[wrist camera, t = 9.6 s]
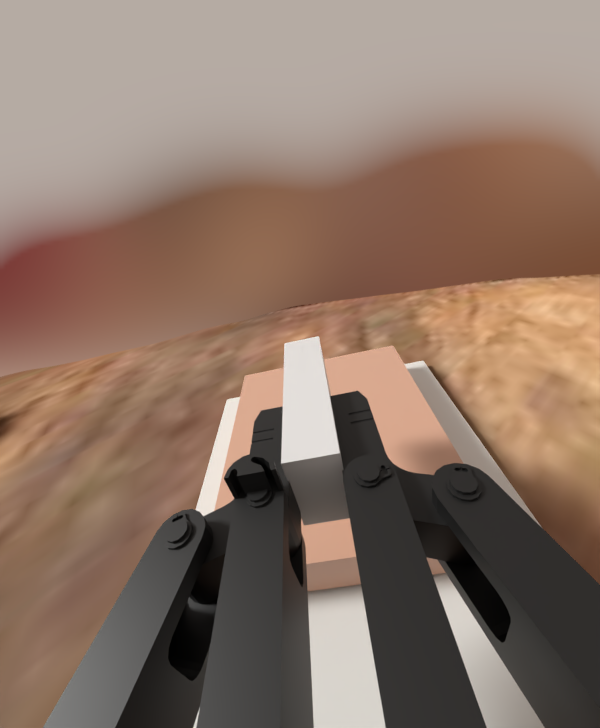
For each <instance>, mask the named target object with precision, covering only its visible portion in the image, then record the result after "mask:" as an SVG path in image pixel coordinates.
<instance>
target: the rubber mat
mask: <svg viewBox="0 0 600 728" xmlns="http://www.w3.org/2000/svg"><path fill="white" fill-rule="evenodd" d="M404 365H405V366H406V368H407V370H408V371H409V373H410V375H411V376H412V378H413V380H414V381H415V383H416V385H417V386H418V388H419V390H420V391H421V393H422V395H423V396H424V398H425V400H426V401H427V403H428V405H429V406H430V408H431V410H432V412H433V413H434V415H435V417H436V418H437V420H438V422H439V423H440V425H441V427H442V428H443V430H444V432H445V433H446V435H447V437H448V438H449V440H450V442H451V443H452V445H453V447H454V448H455V450H456V452H457V453H458V455H459V457H460V458H461V460H462V462H463V463H464V464H468V465H471V466H473V467H476V468H479V469H480V470H482V471H483V472H484V473H486V474H487V475H488V476H490V477H491V478H492V479H493V480H494V481H495V482H496V483H497V484H498V485H499V486H500V487H501V488H502V489H503V490H504V491H505V492H506V493H507V494H508V495H509V496H510V497H511V498H512V499H513V500H514V501H515V502H516V503H517V504H518V505H519V506H520V507H521V508H522V509H523V510H524V511H525V512H526V513H527V514H528V515H529V516H530V517H531V518H532V519H533V520H534V521H535V522H536V523H537V524H538V525H539V526H540V524H539V523H538V521H537V520H536V519H535V517H534V516H533V514H532V513H531V511H530V510H529V509H528V507H527V506H526V504H525V503H524V502H523V500H522V499H521V497H520V496H519V495H518V493H517V492H516V490H515V489H514V488H513V486H512V485H511V483H510V482H509V481H508V479H507V478H506V476H505V475H504V474H503V472H502V471H501V469H500V468H499V467H498V465H497V464H496V462H495V461H494V459H493V458H492V457H491V455H490V454H489V452H488V451H487V450H486V448H485V447H484V445H483V444H482V443H481V441H480V440H479V438H478V437H477V436H476V434H475V433H474V431H473V430H472V429H471V427H470V426H469V424H468V423H467V422H466V420H465V419H464V417H463V416H462V415H461V413H460V412H459V410H458V409H457V407H456V406H455V405H454V403H453V402H452V400H451V399H450V398H449V396H448V395H447V393H446V392H445V391H444V389H443V388H442V386H441V385H440V384H439V382H438V381H437V379H436V378H435V377H434V375H433V374H432V372H431V371H430V370H429V368H428V367H427V365H426V364H425V363H424V361H419V362H414V363H409V364H404ZM239 400H240V397H237V398H232V399H227V402H226V405H225V409H224V412H223V416H222V419H221V423H220V426H219V430H218V433H217V437H216V440H215V444H214V447H213V451H212V454H211V458H210V461H209V465H208V468H207V472H206V475H205V479H204V483H203V486H202V490H201V493H200V497H199V500H198V504H197V507H196V511H199V512H200V513H201V514H202V515H203V516H205V515H207V514H209V513H211V512H213V511H214V509H215V505H216V501H217V496H218V492H219V487H220V483H221V479H222V474H223V470H224V466H225V461H226V457H227V452H228V448H229V444H230V439H231V435H232V431H233V426H234V422H235V417H236V413H237V409H238V404H239ZM540 527H541V526H540ZM433 578H434V581H435V583H436V586H437V589H438V592H439V595H440V597H441V600H442V603H443V606H444V609H445V612H446V614H447V617H448V620H449V623H450V626H451V628H452V631H453V634H454V637H455V640H456V643H457V645H458V648H459V651H460V654H461V657H462V659H463V662H464V665H465V668H466V671H467V674H468V676H469V679H470V682H471V685H472V688H473V690H474V693H475V696H476V699H477V702H478V705H479V707H480V710H481V713H482V716H483V719H484V721H485V724H486V727H487V728H545V727H544V726H543V724H542V723H541V721H540V719H539V718H538V716H537V715H536V713H535V712H534V710H533V708H532V707H531V705H530V704H529V702H528V701H527V699H526V698H525V696H524V694H523V693H522V691H521V690H520V688H519V687H518V685H517V683H516V682H515V680H514V679H513V677H512V676H511V674H510V672H509V671H508V669H507V668H506V666H505V665H504V663H503V662H502V660H501V658H500V657H499V655H498V654H497V652H496V651H495V649H494V647H493V646H492V644H491V643H490V641H489V640H488V638H487V637H486V635H485V633H484V632H483V630H482V629H481V627H480V626H479V624H478V622H477V621H476V619H475V618H474V616H473V615H472V613H471V612H470V610H469V608H468V607H467V605H466V604H465V602H464V601H463V599H462V597H461V596H460V594H459V593H458V591H457V590H456V588H455V586H454V585H453V583H452V582H451V580H450V579H449V577H448V576H447V574H446V573H440V574H433ZM308 612H309V634H310V656H311V677H312V699H313V721H314V728H386V727H385V721H384V715H383V709H382V703H381V698H380V692H379V686H378V680H377V674H376V669H375V663H374V657H373V651H372V645H371V640H370V634H369V628H368V622H367V616H366V611H365V605H364V599H363V593H362V587H361V584H359V585H352V586H345V587H337V588H330V589H322V590H315V591H308ZM199 709H200V708H199ZM198 715H199V711H198V714H197V717H196V720H195V723H194V727H193V728H196V727H197V721H198Z"/></svg>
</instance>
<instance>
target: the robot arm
mask: <svg viewBox="0 0 600 728" xmlns="http://www.w3.org/2000/svg"><path fill="white" fill-rule="evenodd" d="M251 442H252V444H251V448H250V454H249V455H246V456H243V457H241V458H240V459H238V460H237V461H235V462H234V463H233V464H232V465H231V466H230V467H229V469H228V470H227V472H226V474H225V476H224V480H225V482H226V484H227V486H228V488H229V490H230V491H231V493H232V495H233V497H234V499H233V500H232V501H231V502H230V503H228V504H227V505H225V506H223V507H221V508H219V509H217V510H215V511H213V512H211V513H209V514H207V515H205V516H203V515H202V514H201V513H200V512H199V511H196V510H193V509H189V510H183V511H180V512H178V513H176V514H174V515H172V516H171V517H170V518H169V519H168V520H166V521H165V522H164V523H163V524H162V526H161V527H160V528H159V530H158V531H157V532H156V534H155V536H154V538H153V539H152V541H151V543H150V544H149V546H148V548H147V550H146V551H145V553H144V555H143V557H142V558H141V560H140V562H139V563H138V565H137V567H136V569H135V570H134V572H133V574H132V575H131V577H130V579H129V581H128V582H127V584H126V586H125V587H124V589H123V591H122V593H121V594H120V596H119V598H118V600H117V601H116V603H115V605H114V606H113V608H112V610H111V612H110V613H109V615H108V617H107V618H106V620H105V622H104V624H103V625H102V627H101V629H100V630H99V632H98V634H97V636H96V637H95V639H94V641H93V643H92V644H91V646H90V648H89V649H88V651H87V653H86V655H85V656H84V658H83V660H82V661H81V663H80V665H79V667H78V668H77V670H76V672H75V673H74V675H73V677H72V679H71V680H70V682H69V684H68V685H67V687H66V689H65V691H64V692H63V694H62V696H61V698H60V699H59V701H58V703H57V704H56V706H55V708H54V710H53V711H52V713H51V715H50V716H49V718H48V720H47V722H46V723H45V725H44V727H43V728H193V727H194V723H195V720H196V717H197V714H198V711H199V715H198V721H197V727H196V728H314V721H313V699H312V677H311V656H310V634H309V612H308V590H307V568H306V546H305V542H304V538H303V535H302V532H301V519H302V521H303V524H304V525H311V524H317V523H323V522H329V521H336V520H342V519H348V518H350V523H351V529H352V535H353V541H354V547H355V552H356V558H357V564H358V570H359V576H360V581H361V587H362V593H363V599H364V605H365V611H366V616H367V622H368V628H369V634H370V640H371V645H372V651H373V657H374V663H375V669H376V674H377V680H378V686H379V692H380V698H381V703H382V709H383V715H384V721H385V727H386V728H487V727H486V724H485V721H484V719H483V716H482V713H481V710H480V707H479V705H478V702H477V699H476V696H475V693H474V690H473V688H472V685H471V682H470V679H469V676H468V674H467V671H466V668H465V665H464V662H463V659H462V657H461V654H460V651H459V648H458V645H457V643H456V640H455V637H454V634H453V631H452V628H451V626H450V623H449V620H448V617H447V614H446V612H445V609H444V606H443V603H442V600H441V597H440V595H439V592H438V589H437V586H436V583H435V581H434V578H433V575H432V572H431V569H430V566H429V564H428V561H427V558H432V559H437V560H438V561H439V563H440V565H441V566H442V568H443V569H444V571H445V572H446V574H447V576H448V577H449V579H450V580H451V582H452V583H453V585H454V586H455V588H456V590H457V591H458V593H459V594H460V596H461V597H462V599H463V601H464V602H465V604H466V605H467V607H468V608H469V610H470V612H471V613H472V615H473V616H474V618H475V619H476V621H477V622H478V624H479V626H480V627H481V629H482V630H483V632H484V633H485V635H486V637H487V638H488V640H489V641H490V643H491V644H492V646H493V647H494V649H495V651H496V652H497V654H498V655H499V657H500V658H501V660H502V662H503V663H504V665H505V666H506V668H507V669H508V671H509V672H510V674H511V676H512V677H513V679H514V680H515V682H516V683H517V685H518V687H519V688H520V690H521V691H522V693H523V694H524V696H525V698H526V699H527V701H528V702H529V704H530V705H531V707H532V708H533V710H534V712H535V713H536V715H537V716H538V718H539V719H540V721H541V723H542V724H543V726H544V727H545V728H600V585H599V584H598V583H597V582H596V581H595V580H594V579H593V578H592V577H591V576H590V575H589V574H588V573H587V572H586V571H585V570H584V569H583V568H582V567H581V566H580V565H579V564H578V563H577V562H576V561H575V560H574V559H573V558H572V557H571V556H570V555H569V554H568V553H567V552H566V551H565V550H564V549H563V548H562V547H561V546H560V545H559V544H558V543H557V542H556V541H555V540H554V539H553V538H552V537H551V536H550V535H549V534H548V533H547V532H546V531H545V530H544V529H543V528H542V527H540V526H539V525H538V524H537V523H536V522H535V521H534V520H533V519H532V518H531V517H530V516H529V515H528V514H527V513H526V512H525V511H524V510H523V509H522V508H521V507H520V506H519V505H518V504H517V503H516V502H515V501H514V500H513V499H512V498H511V497H510V496H509V495H508V494H507V493H506V492H505V491H504V490H503V489H502V488H501V487H500V486H499V485H498V484H497V483H496V482H495V481H494V480H493V479H492V478H491V477H490V476H488V475H487V474H486V473H484V472H483V471H482V470H480V469H479V468H476V467H473V466H471V465H468V464H461V463H452V464H447V465H444V466H442V467H441V468H439V469H438V470H436V472H435V474H434V475H430V474H421V473H414V472H409V471H406V470H404V469H401V468H399V467H398V466H396V465H395V464H393V463H392V461H391V460H390V459H389V458H388V456H387V454H386V452H385V449H384V446H383V443H382V440H381V437H380V434H379V432H378V429H377V426H376V423H375V420H374V417H373V414H372V411H371V409H370V406H369V403H368V400H367V398H366V397H365V396H364V395H362V394H361V393H360V392H359V391H353V392H348V393H343V394H338V395H333V396H331V392H330V387H329V382H328V377H327V373H326V368H325V363H324V359H323V354H322V349H321V345H320V340H319V336H317V337H313V338H308V339H303V340H298V341H294V342H289V343H285V346H284V381H283V406H282V407H277V408H271V409H266V410H261V412H260V413H259V415H258V416H257V418H256V419H255V421H254V427H253V435H252V441H251ZM426 557H427V558H426ZM199 708H200V709H199Z"/></svg>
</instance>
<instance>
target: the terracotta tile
mask: <svg viewBox="0 0 600 728" xmlns="http://www.w3.org/2000/svg"><path fill="white" fill-rule="evenodd" d="M324 363H325V368H326V373H327V377H328V382H329V387H330V392H331V396H333V395H338V394H343V393H348V392H353V391H359V392H360V393H361V394H362V395H364V396H365V397H366V398H367V400H368V403H369V406H370V409H371V411H372V414H373V417H374V420H375V423H376V426H377V429H378V432H379V434H380V437H381V440H382V443H383V446H384V449H385V452H386V454H387V456H388V458H389V459H390V460H391V461H392V463H393V464H395V465H396V466H398V467H399V468H401V469H404V470H406V471H409V472H414V473H421V474H430V475H434V474H435V472H436V470H438V469H439V468H441V467H442V466H444V465H447V464H452V463H461V464H464V463H463V462H462V460H461V458H460V457H459V455H458V453H457V452H456V450H455V448H454V447H453V445H452V443H451V442H450V440H449V438H448V437H447V435H446V433H445V432H444V430H443V428H442V427H441V425H440V423H439V422H438V420H437V418H436V417H435V415H434V413H433V412H432V410H431V408H430V406H429V405H428V403H427V401H426V400H425V398H424V396H423V395H422V393H421V391H420V390H419V388H418V386H417V385H416V383H415V381H414V380H413V378H412V376H411V375H410V373H409V371H408V370H407V368H406V366H405V365H404V363H403V361H402V360H401V358H400V356H399V355H398V353H397V351H396V350H395V348H394V346H388V347H383V348H378V349H373V350H368V351H364V352H359V353H354V354H349V355H344V356H339V357H334V358H329V359H324ZM283 381H284V368H281V369H276V370H271V371H266V372H261V373H256V374H251V375H246V376H245V378H244V382H243V387H242V391H241V395H240V400H239V404H238V409H237V413H236V417H235V422H234V426H233V431H232V435H231V439H230V444H229V448H228V452H227V457H226V461H225V466H224V470H223V474H222V479H221V483H220V487H219V492H218V496H217V501H216V505H215V509H214V511H215V510H217V509H219V508H221V507H223V506H225V505H227V504H228V503H230V502H231V501H232V500H233V499H234V497H233V495H232V493H231V491H230V490H229V488H228V486H227V484H226V482H225V480H224V476H225V474H226V472H227V470H228V469H229V467H230V466H231V465H232V464H233V463H234V462H235V461H237V460H238V459H240V458H241V457H243V456H246V455H249V454H250V448H251V444H252V442H251V441H252V435H253V427H254V421H255V419H256V418H257V416H258V415H259V413H260V412H261V410H266V409H271V408H277V407H282V406H283ZM301 532H302V535H303V538H304V542H305V546H306V568H307V590H308V591H315V590H322V589H330V588H337V587H345V586H352V585H359V584H361V581H360V576H359V570H358V564H357V558H356V552H355V547H354V541H353V535H352V529H351V523H350V518H348V519H342V520H336V521H329V522H323V523H317V524H311V525H304V524H303V521H302V519H301ZM426 558H427V557H426ZM427 561H428V564H429V566H430V569H431V572H432V575H433V574H440V573H446V572H445V571H444V569H443V568H442V566H441V565H440V563H439V561H438V560H437V559H432V558H427Z"/></svg>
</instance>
